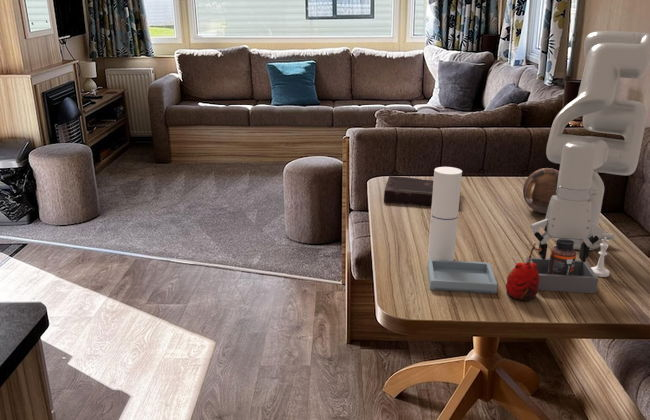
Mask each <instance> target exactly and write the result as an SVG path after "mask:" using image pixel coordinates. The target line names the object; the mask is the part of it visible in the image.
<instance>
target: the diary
mask: <svg viewBox="0 0 650 420" xmlns="http://www.w3.org/2000/svg"><path fill="white" fill-rule="evenodd" d="M433 182H434V179H433V180H432V179H421V178H414V177H408V176H393V175H389V176H388V179H387V182H386V185H385V188H384V191H383V202H384V203H387V204H388V203H392V204H403V205H404V204H406V205H415V206H430V207H432V195H433Z"/></svg>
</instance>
